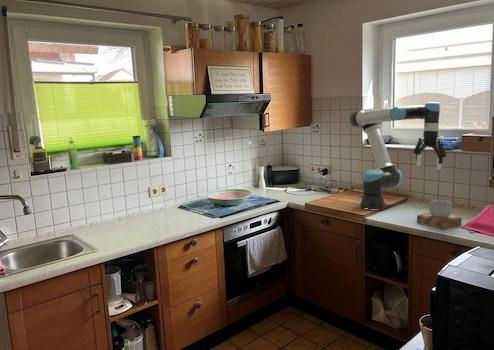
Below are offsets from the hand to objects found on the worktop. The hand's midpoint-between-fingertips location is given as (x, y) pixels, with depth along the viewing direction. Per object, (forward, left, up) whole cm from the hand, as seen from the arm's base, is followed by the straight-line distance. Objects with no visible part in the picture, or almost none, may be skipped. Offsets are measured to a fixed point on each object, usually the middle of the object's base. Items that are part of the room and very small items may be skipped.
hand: (428, 167), depth 236 cm
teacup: (+14, -8, -24) cm, 29 cm away
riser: (+15, -9, -28) cm, 33 cm away
